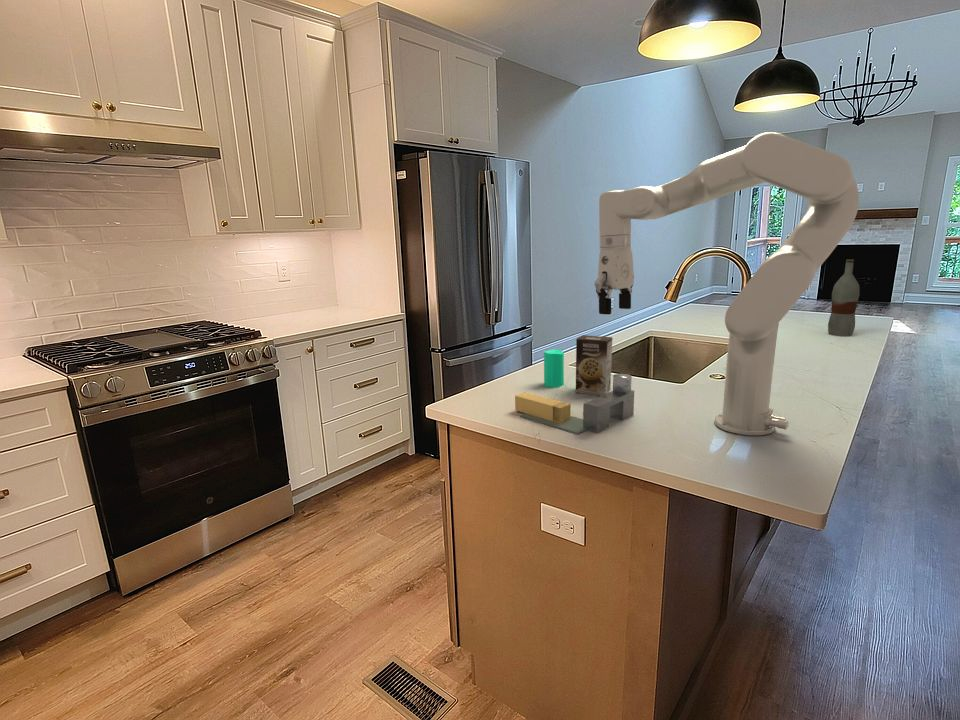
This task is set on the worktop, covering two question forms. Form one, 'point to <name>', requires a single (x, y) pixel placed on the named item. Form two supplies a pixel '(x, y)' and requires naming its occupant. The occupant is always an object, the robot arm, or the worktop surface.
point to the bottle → (844, 303)
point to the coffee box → (593, 364)
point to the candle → (553, 368)
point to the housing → (610, 405)
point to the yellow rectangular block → (543, 407)
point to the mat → (570, 425)
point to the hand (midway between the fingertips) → (615, 311)
